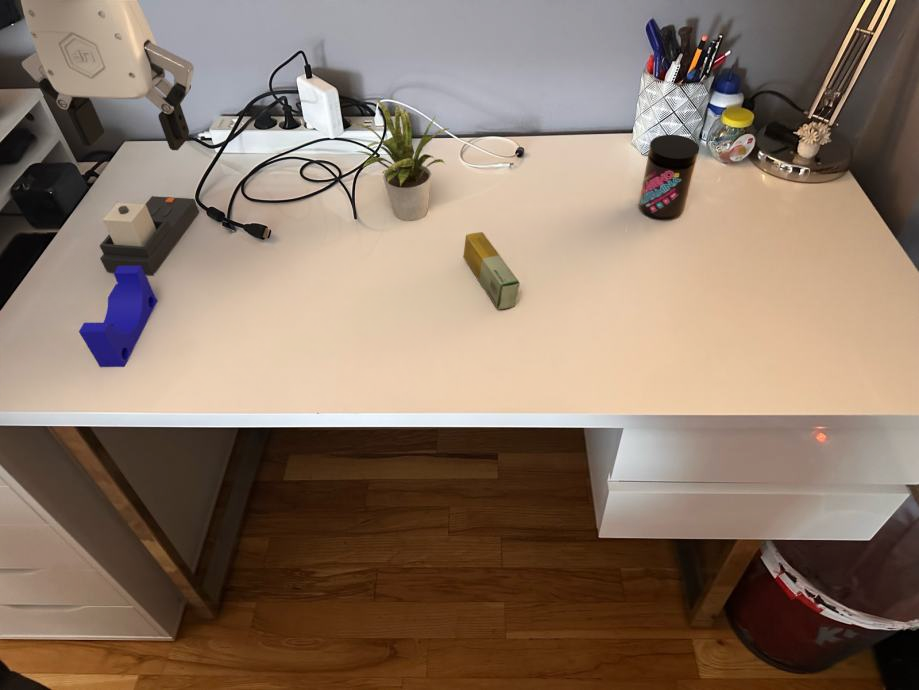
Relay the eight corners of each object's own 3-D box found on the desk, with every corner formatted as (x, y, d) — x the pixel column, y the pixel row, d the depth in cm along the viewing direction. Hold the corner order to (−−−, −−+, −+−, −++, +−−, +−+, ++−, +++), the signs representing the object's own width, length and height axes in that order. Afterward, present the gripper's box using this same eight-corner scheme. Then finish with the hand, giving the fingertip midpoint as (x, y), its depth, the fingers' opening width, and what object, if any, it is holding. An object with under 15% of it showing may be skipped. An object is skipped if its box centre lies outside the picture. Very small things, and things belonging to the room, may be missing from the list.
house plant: (340, 204, 105) (322, 104, 93) (414, 174, 110) (405, 76, 99) (390, 248, 97) (377, 144, 85) (466, 213, 102) (464, 111, 91)
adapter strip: (106, 272, 94) (95, 249, 92) (157, 209, 105) (148, 187, 102) (153, 275, 94) (142, 252, 91) (199, 212, 104) (191, 189, 102)
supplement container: (631, 199, 104) (642, 137, 96) (673, 194, 104) (687, 132, 97) (647, 224, 99) (660, 161, 91) (691, 219, 100) (707, 155, 92)
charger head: (116, 249, 94) (100, 215, 90) (131, 231, 97) (115, 198, 93) (144, 251, 94) (129, 217, 90) (158, 233, 96) (144, 200, 92)
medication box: (517, 307, 87) (521, 283, 84) (498, 311, 86) (502, 287, 83) (479, 253, 95) (482, 229, 92) (462, 256, 94) (464, 233, 91)
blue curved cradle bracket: (124, 301, 90) (106, 266, 86) (157, 300, 90) (141, 265, 86) (87, 367, 82) (65, 331, 77) (124, 366, 81) (104, 331, 77)
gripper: (-53, -26, 57) (42, 156, 69) (137, -22, 55) (199, 164, 67) (2, -52, 62) (80, 121, 75) (176, -50, 60) (228, 128, 73)
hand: (137, 141), depth 71 cm, fingers open, 9 cm apart
